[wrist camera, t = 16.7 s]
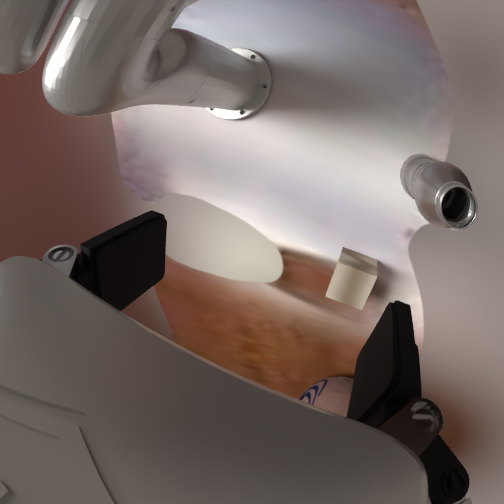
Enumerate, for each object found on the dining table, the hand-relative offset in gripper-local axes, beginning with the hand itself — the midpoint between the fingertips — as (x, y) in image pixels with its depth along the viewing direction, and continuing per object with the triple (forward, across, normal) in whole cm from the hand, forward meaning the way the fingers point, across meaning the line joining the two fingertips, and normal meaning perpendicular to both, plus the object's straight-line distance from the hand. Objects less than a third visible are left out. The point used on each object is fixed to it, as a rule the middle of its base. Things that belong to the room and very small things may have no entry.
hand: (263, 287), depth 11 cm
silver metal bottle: (+34, -11, -4) cm, 36 cm away
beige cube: (+34, -7, +14) cm, 37 cm away
